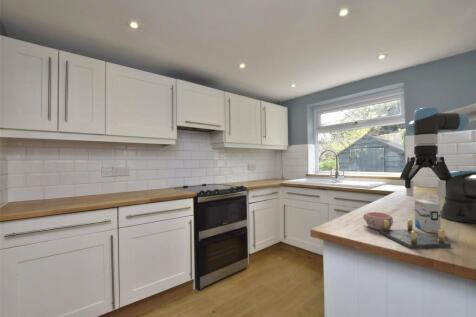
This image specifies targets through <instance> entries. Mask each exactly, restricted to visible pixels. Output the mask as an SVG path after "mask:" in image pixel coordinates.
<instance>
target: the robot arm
mask: <svg viewBox="0 0 476 317" xmlns="http://www.w3.org/2000/svg"><path fill="white" fill-rule="evenodd" d="M474 121H476V103H472V104H470V105H466V106H462V107H460V108H455V109H452V110H448V111H446V112H439V110H438V107H437V106H436V107H435V106H427V107H421V108H420V107H419V108H418V109H415V110H414V113H413V120H411V121H410V122H409V123H408V125H407V132H408V133H409V134H410V135H411V136H413V145H415V146H414V147H413V154H414V155H415V156H407V159H406V160H407V161H406V163H405V165H404V168H403V169H402V171H401V173H400V176H399V179H401V180H403V181H404V187H405V189H406V190H405V191H406V194H405V195H406V197H410V198H411V197H413V198H414V196H415V194H414V190H415V189H414V180H413V179H414V177H416V175H417V174H418V173H419V171H421V169H423V168H424V169H425V168H429V169H430V170H431V171H432V172H433V173H434V174H435V176H436V177H437V178H438V180H437V195H438V196H440V197H444V201H443V205H442V207H441V209H440V218H442V219H445V220H448V221H454V222H460V223H467V224H468V223H469V224H476V170H455V171H454V170H453V171H450V170H449V168H448V166H447V164H446V162H445V160H446V159H445V157H444V156H437V155H438V152H439V151H438V150H439V146H438V144H439V142H438V141H439V140H438V139H439V138H438V137H439V136H438V134H439V133H445V132H453V133H454V132H460V131H464V130H465V129H466V128H467V127H468V126H469V124H470V122H474Z"/></svg>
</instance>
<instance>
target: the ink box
mask: <svg viewBox="0 0 476 317" xmlns="http://www.w3.org/2000/svg"><path fill="white" fill-rule="evenodd" d="M432 197H433V198H432ZM440 211H441V196H438V194H434V193H429V192H426V199H417V198H416V199H414V225H415V227H416V228H418V229H421V230H423V231H424V232H426V233H436V234H438V230H441V217H440Z"/></svg>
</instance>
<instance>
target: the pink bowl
mask: <svg viewBox="0 0 476 317" xmlns="http://www.w3.org/2000/svg"><path fill="white" fill-rule="evenodd" d="M362 216H363V219H364V221H365V223H366V225H367V227H369V228H371V229H374V230H377V231H379V230H384V220H387V221H389V230H391V228H392V226H393V223H394V220H393V216H392V215H391V214H388V213H385V212H377V211H376V212H374V211H368V212H366V213H364V214H363V215H362Z"/></svg>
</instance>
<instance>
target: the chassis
mask: <svg viewBox="0 0 476 317" xmlns="http://www.w3.org/2000/svg"><path fill="white" fill-rule="evenodd" d="M406 222H407V223H406V224H407V225H406V226H407V229H406V228H405V229H389V221H387V220H384V230H378V231H379V234H380V235H382V236H384V237H386V238H389V239H390V240H392V241H394V242H396V243H397V244H401V245H403V246H404V247H406V248H409V249H432V248H433V249H437V248H438V249H439V248H440V249H441V248H451V247H452V246H451V245H452V243H451V242H447V241H446V240H445V239H446V238H445V237H446V236H445V234H446V232H445V231H444V230H442V229H440V230H438V233H437V236H438V237H434V236H432V235H430V234H427V233H424V232H422V231H419V230H416V229H414V228H413V225H414V224H413V220H412V219H407V221H406Z"/></svg>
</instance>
